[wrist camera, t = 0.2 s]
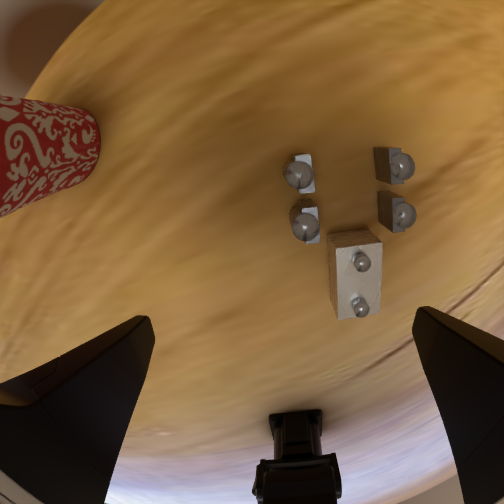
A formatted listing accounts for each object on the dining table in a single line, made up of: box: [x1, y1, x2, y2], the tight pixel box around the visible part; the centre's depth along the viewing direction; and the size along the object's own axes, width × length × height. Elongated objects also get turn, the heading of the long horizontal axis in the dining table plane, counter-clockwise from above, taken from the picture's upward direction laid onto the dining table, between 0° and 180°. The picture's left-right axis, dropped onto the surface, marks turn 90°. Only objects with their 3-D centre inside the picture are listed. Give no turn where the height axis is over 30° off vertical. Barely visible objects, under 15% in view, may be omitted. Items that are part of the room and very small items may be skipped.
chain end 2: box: [289, 191, 416, 244], centre depth 20 cm, size 2×9×3 cm, turn 100°
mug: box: [0, 96, 100, 218], centre depth 14 cm, size 13×9×14 cm
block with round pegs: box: [327, 229, 382, 320], centre depth 21 cm, size 6×4×4 cm, turn 9°
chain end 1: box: [283, 147, 415, 194], centre depth 18 cm, size 2×9×3 cm, turn 100°
